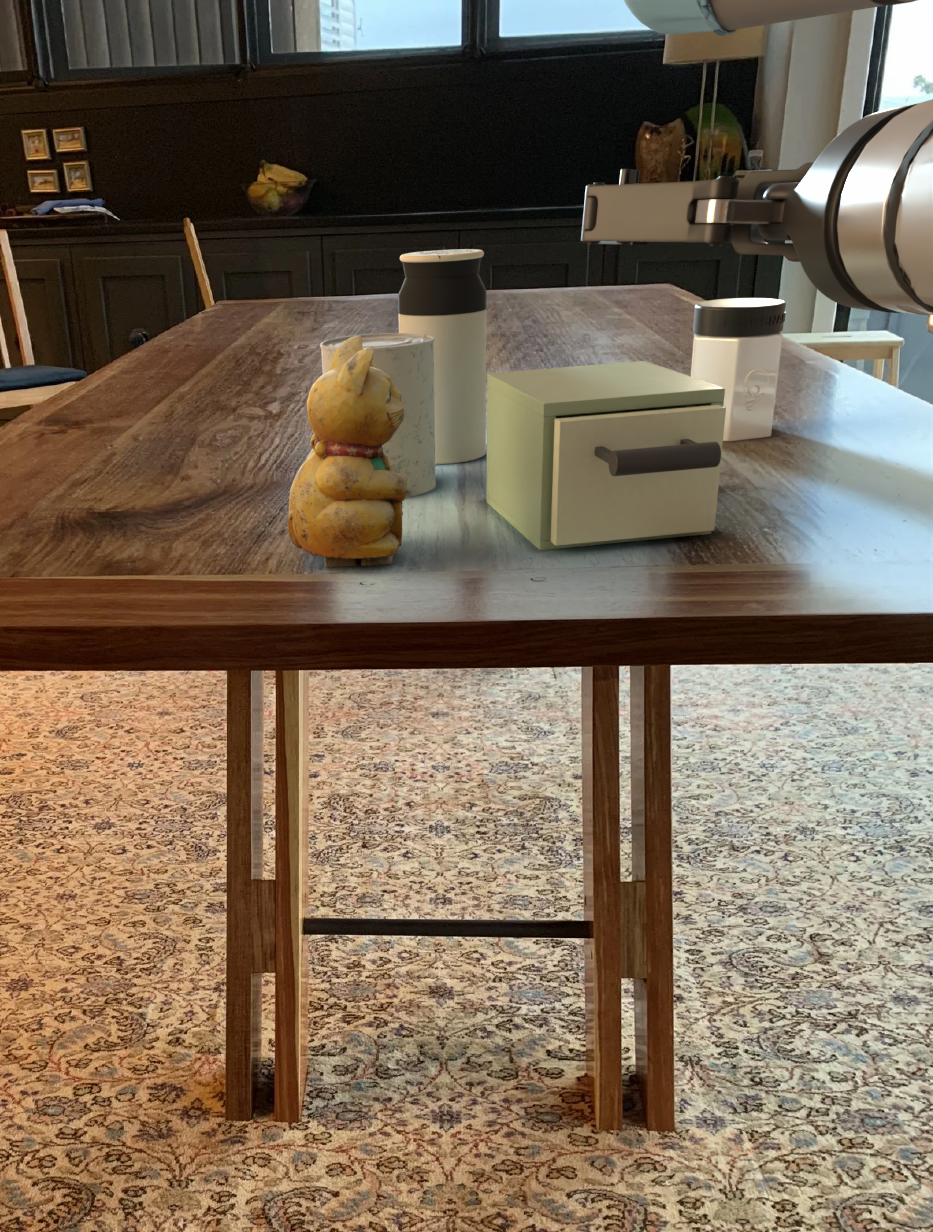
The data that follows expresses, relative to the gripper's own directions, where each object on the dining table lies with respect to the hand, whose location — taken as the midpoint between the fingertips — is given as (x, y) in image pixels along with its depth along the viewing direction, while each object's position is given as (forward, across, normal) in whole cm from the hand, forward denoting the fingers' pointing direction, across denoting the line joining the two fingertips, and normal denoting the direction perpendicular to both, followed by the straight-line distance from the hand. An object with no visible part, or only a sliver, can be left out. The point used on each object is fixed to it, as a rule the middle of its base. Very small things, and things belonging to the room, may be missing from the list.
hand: (729, 218), depth 66 cm
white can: (+34, -15, -21) cm, 43 cm away
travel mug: (+45, -8, -20) cm, 50 cm away
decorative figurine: (+13, -20, -22) cm, 33 cm away
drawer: (+15, 0, -20) cm, 25 cm away
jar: (+47, +20, -18) cm, 54 cm away
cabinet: (+20, 0, -21) cm, 29 cm away
